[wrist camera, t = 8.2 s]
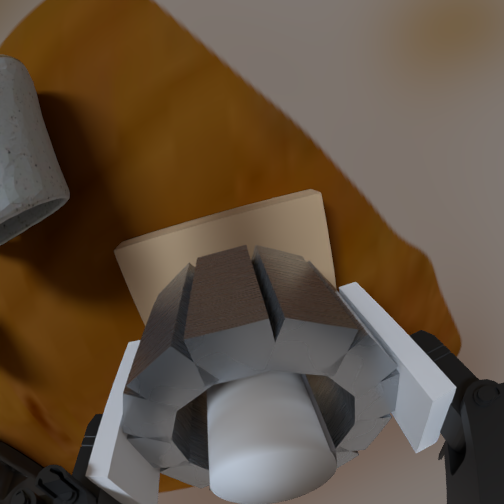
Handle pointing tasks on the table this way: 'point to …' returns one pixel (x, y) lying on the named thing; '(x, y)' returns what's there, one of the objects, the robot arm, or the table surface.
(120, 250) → the shaft stand
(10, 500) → the robot arm
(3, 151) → the ceramic mug
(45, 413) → the table surface
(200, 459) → the ring
